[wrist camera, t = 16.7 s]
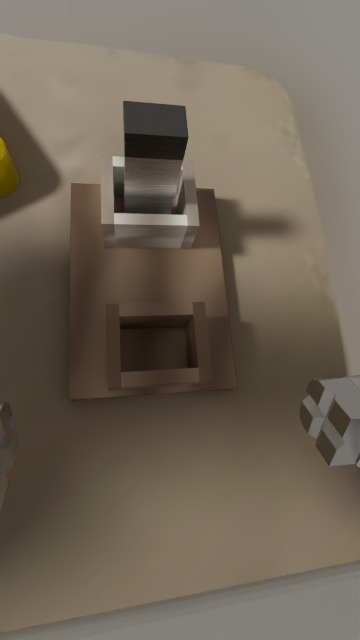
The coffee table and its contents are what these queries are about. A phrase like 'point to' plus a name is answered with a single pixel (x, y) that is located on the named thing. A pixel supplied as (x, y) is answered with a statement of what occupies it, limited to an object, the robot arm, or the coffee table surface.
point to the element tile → (7, 171)
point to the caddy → (146, 293)
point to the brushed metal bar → (152, 155)
